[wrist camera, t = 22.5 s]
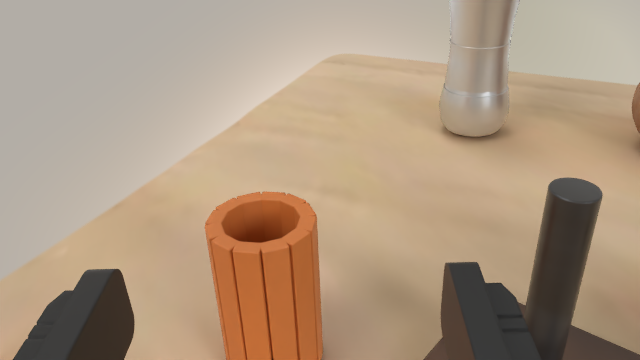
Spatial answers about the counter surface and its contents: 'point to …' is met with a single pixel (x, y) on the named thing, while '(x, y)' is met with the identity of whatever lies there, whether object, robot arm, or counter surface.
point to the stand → (561, 277)
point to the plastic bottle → (478, 66)
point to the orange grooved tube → (267, 277)
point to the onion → (636, 107)
